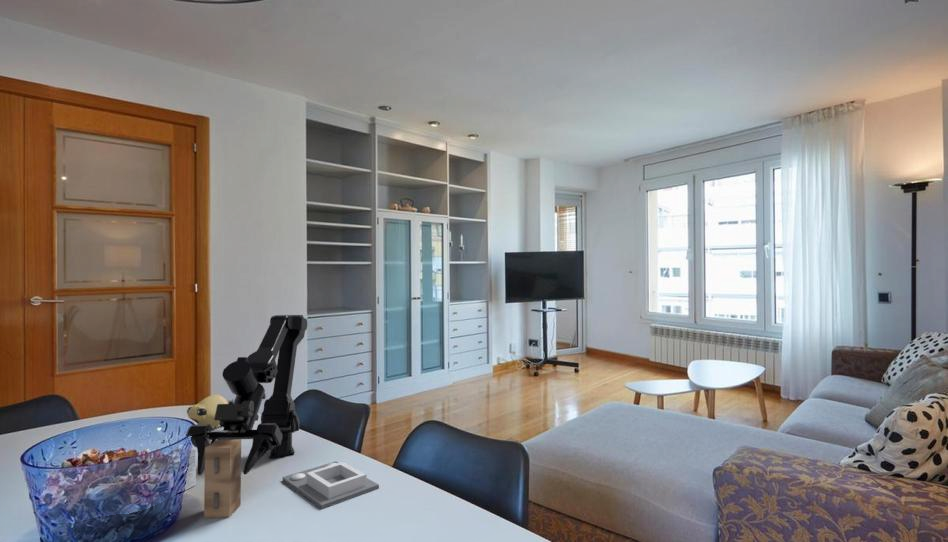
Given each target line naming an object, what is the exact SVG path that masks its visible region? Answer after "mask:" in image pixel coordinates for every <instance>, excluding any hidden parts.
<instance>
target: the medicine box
mask: <svg viewBox="0 0 948 542" xmlns="http://www.w3.org/2000/svg"><path fill="white" fill-rule="evenodd" d="M190 449H191V454H190V461H189V467H188V472H187V482H186V489H185V491H184V492H186V491H188V490H190V489H191V488H194V487H195V486H196V485H197V477H196V476H197V475H196V474H197V473H196V472H197V468H196V467H197V465H196V464H197V463H196V461H197V459H196V457H197V456H196V455H197V454H196V453H197V452H196V450H197V449H195V448H190Z"/></svg>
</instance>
